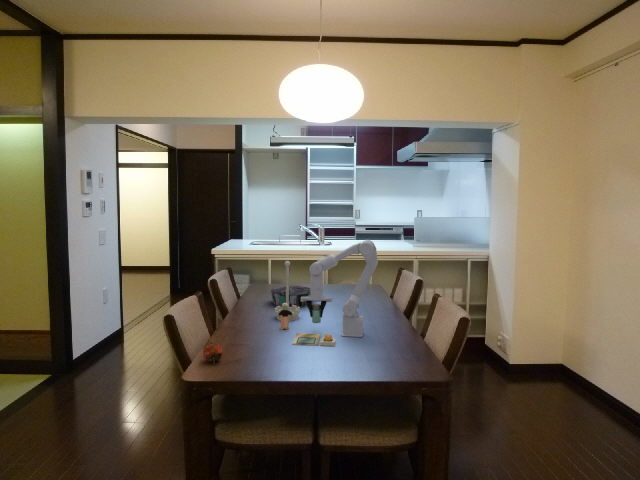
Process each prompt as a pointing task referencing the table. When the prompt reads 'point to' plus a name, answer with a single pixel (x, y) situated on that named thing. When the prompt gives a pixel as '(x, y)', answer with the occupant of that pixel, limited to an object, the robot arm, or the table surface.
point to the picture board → (306, 339)
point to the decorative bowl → (290, 295)
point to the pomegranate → (213, 352)
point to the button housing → (327, 342)
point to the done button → (328, 337)
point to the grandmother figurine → (285, 316)
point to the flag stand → (293, 309)
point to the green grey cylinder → (316, 313)
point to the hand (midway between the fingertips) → (316, 316)
